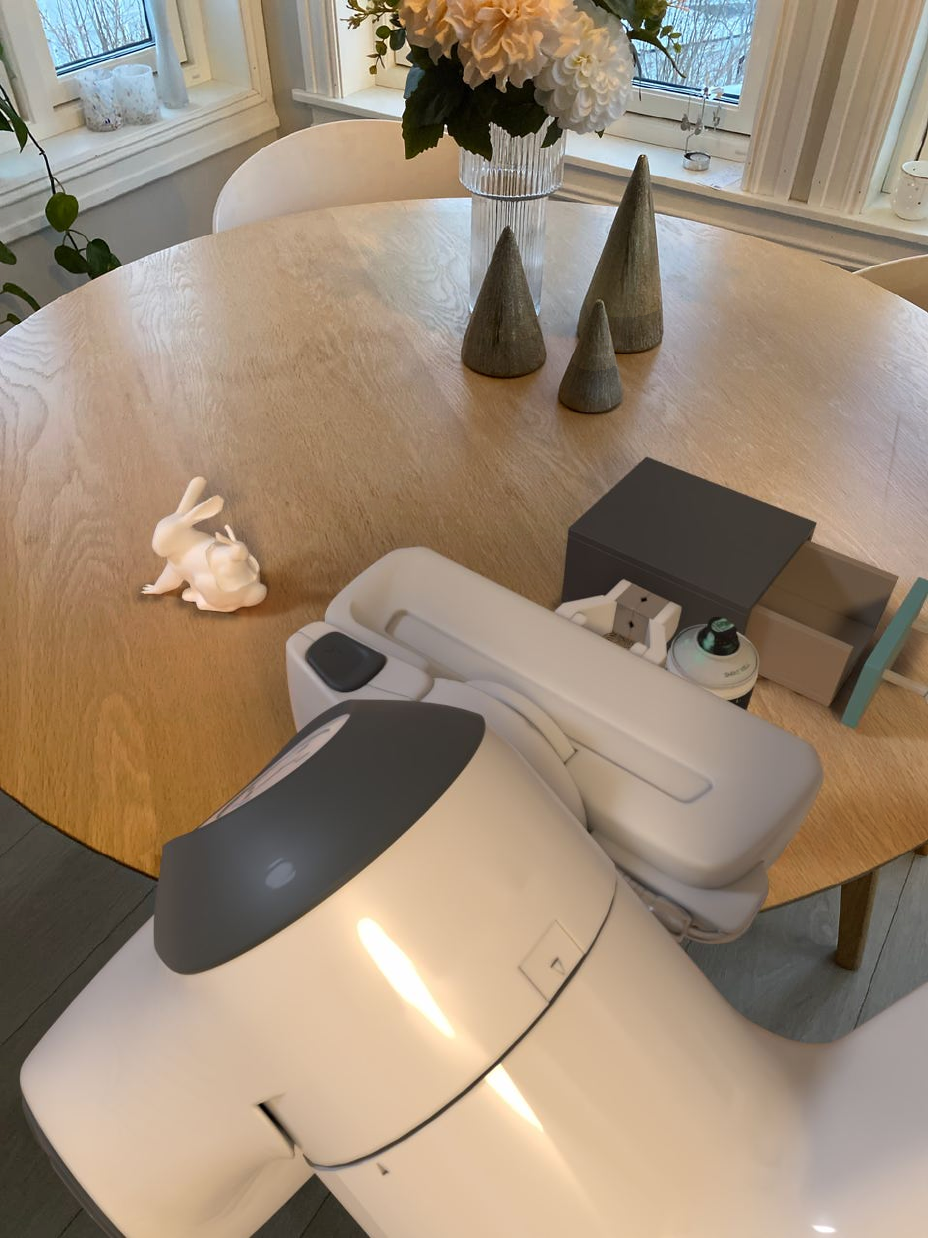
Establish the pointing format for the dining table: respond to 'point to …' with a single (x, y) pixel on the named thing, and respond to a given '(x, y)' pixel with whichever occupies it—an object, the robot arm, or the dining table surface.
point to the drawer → (833, 628)
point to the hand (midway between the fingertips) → (651, 603)
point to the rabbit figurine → (205, 558)
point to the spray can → (716, 660)
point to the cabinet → (682, 544)
